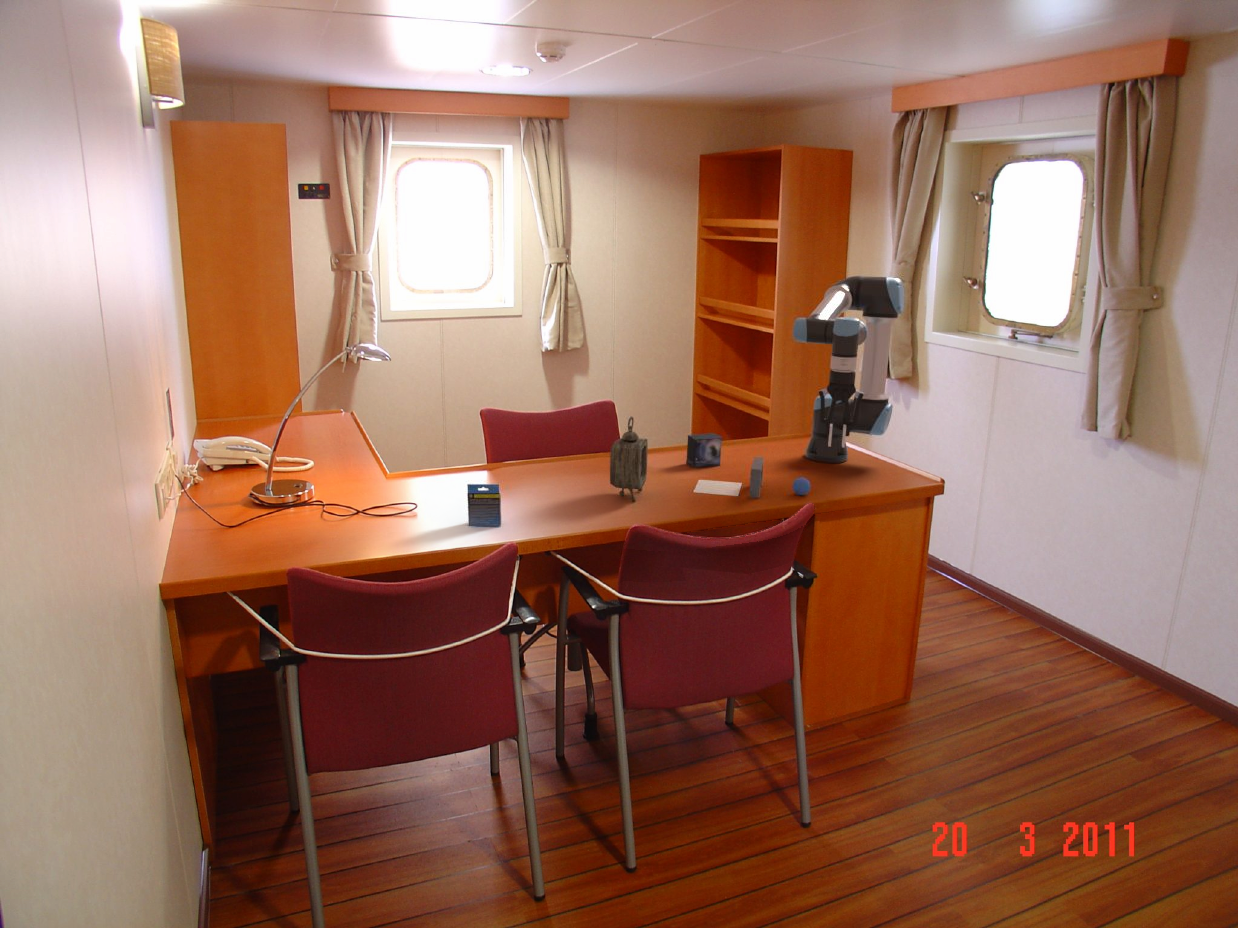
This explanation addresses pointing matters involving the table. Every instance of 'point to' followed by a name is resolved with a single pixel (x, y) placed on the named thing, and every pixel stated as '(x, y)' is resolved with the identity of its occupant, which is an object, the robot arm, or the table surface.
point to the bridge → (756, 477)
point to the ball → (801, 486)
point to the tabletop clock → (629, 462)
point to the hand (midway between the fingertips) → (836, 445)
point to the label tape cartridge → (484, 505)
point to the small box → (704, 450)
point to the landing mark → (717, 487)
